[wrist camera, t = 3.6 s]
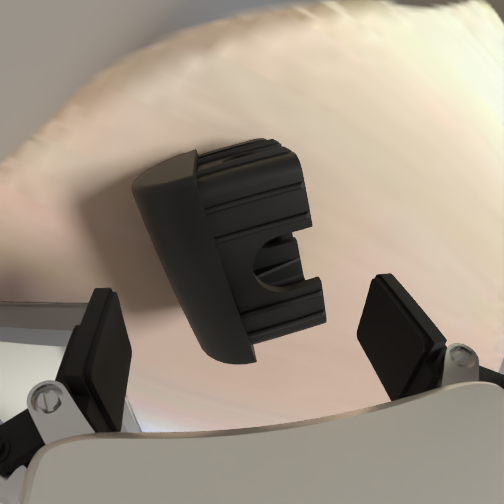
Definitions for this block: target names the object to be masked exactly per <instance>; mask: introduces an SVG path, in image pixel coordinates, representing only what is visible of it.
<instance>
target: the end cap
mask: <svg viewBox="0 0 504 504" xmlns="http://www.w3.org/2000/svg"><path fill="white" fill-rule="evenodd" d="M132 192H133V195H134V197H135V200H136V203H137V205H138V208H139V210H140V213H141V215H142V218H143V220H144V223H145V225H146V228H147V230H148V232H149V235H150V237H151V240H152V242H153V244H154V247H155V249H156V252H157V254H158V256H159V258H160V261H161V263H162V265H163V268H164V270H165V272H166V274H167V277H168V279H169V281H170V283H171V285H172V288H173V290H174V292H175V294H176V296H177V298H178V301H179V303H180V305H181V307H182V309H183V311H184V313H185V315H186V317H187V319H188V322H189V324H190V326H191V328H192V330H193V332H194V334H195V336H196V338H197V340H198V342H199V344H200V346H201V348H202V349H203V350H204V352H205V353H206V354H207V355H208V356H210V357H212V358H213V359H215V360H217V361H220V362H223V363H228V364H249V363H254V362H257V360H256V356H255V351H254V347H253V344H257V343H260V342H264V341H267V340H271V339H274V338H278V337H281V336H284V335H288V334H291V333H294V332H298V331H301V330H304V329H307V328H310V327H314V326H317V325H320V324H323V323H326V312H325V305H324V297H323V290H322V283H321V280H320V278H319V277H315V278H312V279H308V280H305V278H304V275H303V270H302V265H301V260H300V255H299V250H298V244H297V240H296V238H295V237H293V235H292V232H295V231H298V230H302V229H305V228H309V227H312V220H311V215H310V209H309V204H308V198H307V193H306V187H305V182H304V177H303V172H302V168H301V164H300V161H299V159H298V157H297V155H296V154H295V153H294V152H292V151H291V150H289V149H287V148H286V147H282V146H281V144H280V143H279V142H277V141H276V140H274V139H270V140H266V139H264V138H258V139H254V140H250V141H247V142H243V143H239V144H235V145H232V146H228V147H225V148H221V149H218V150H214V151H211V152H207V153H204V154H201V155H198V154H197V151H196V150H193V151H190V152H187V153H184V154H181V155H179V156H176V157H174V158H171V159H169V160H166V161H164V162H162V163H160V164H158V165H156V166H154V167H152V168H150V169H149V170H147V171H146V172H144V173H143V174H141V175H140V176H139V177H138V178H137V179H136V180H135V181H134V183H133V185H132Z"/></svg>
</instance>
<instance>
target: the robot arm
mask: <svg viewBox="0 0 504 504" xmlns="http://www.w3.org/2000/svg"><path fill="white" fill-rule="evenodd" d="M357 338H358V341H359V342H360V344H361V346H362V348H363V350H364V351H365V353H366V355H367V357H368V359H369V360H370V362H371V364H372V366H373V368H374V370H375V371H376V373H377V375H378V377H379V379H380V381H381V383H382V384H383V386H384V388H385V390H386V392H387V394H388V396H389V398H390V399H391V402H388V403H384V404H380V405H376V406H372V407H368V408H364V409H359V410H355V411H351V412H346V413H341V414H336V415H332V416H326V417H321V418H316V419H310V420H304V421H298V422H291V423H285V424H277V425H270V426H261V427H252V428H242V429H231V430H217V431H198V432H120V431H121V428H122V420H123V411H124V404H125V396H126V389H127V382H128V376H129V369H130V363H131V357H132V350H131V345H130V341H129V338H128V334H127V330H126V327H125V323H124V319H123V315H122V311H121V307H120V303H119V299H118V295H117V292H112V289H111V288H95V289H94V291H93V294H92V296H91V299H90V301H89V303H88V306H87V308H86V311H85V313H84V316H83V318H82V321H81V324H80V325H76V326H75V327H74V329H73V331H72V334H71V336H70V339H69V342H68V344H67V347H66V350H65V352H64V355H63V358H62V361H61V364H60V366H59V369H58V372H57V375H56V378H55V381H53V380H47V381H43V382H40V383H38V384H37V385H35V386H34V387H33V388H32V389H31V390H30V392H29V394H28V396H27V407H28V408H27V409H25V410H24V411H22V412H21V413H19V414H17V415H16V416H14V417H12V418H11V419H9V420H8V421H6V422H4V423H3V424H1V425H0V504H504V375H503V374H500V373H498V372H495V371H492V370H490V369H487V368H484V367H482V366H479V359H478V356H477V354H476V353H475V352H474V351H473V349H471V348H470V347H468V346H466V345H464V344H460V343H454V344H451V345H449V346H448V347H446V345H445V343H446V341H447V340H446V338H445V337H444V336H443V334H442V333H441V332H440V331H439V329H438V328H437V327H436V326H435V324H434V323H433V322H432V321H431V319H430V318H429V317H428V316H427V315H426V313H425V312H424V311H423V310H422V309H421V307H420V306H419V305H418V304H417V303H416V301H415V300H414V299H413V298H412V297H411V295H410V294H409V293H408V292H407V291H406V290H405V288H404V287H403V286H402V285H401V284H400V283H399V282H398V280H397V279H396V278H395V277H394V276H393V275H392V274H390V273H389V274H378V275H376V277H375V278H374V279H372V281H371V284H370V288H369V292H368V295H367V299H366V302H365V306H364V309H363V313H362V316H361V319H360V323H359V326H358V329H357Z"/></svg>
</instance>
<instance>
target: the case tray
mask: <svg viewBox="0 0 504 504" xmlns="http://www.w3.org/2000/svg"><path fill="white" fill-rule="evenodd" d="M87 306H88V303H31V302H0V425H1V424H3V423H4V422H6V421H8V420H9V419H11V418H12V417H14V416H16V415H17V414H19V413H21V412H22V411H24V410H25V409H27V408H28V407H27V396H28V394H29V392H30V390H31V389H32V388H33V387H34V386H35V385H37V384H38V383H40V382H43V381H47V380H53V381H55V378H56V375H57V372H58V369H59V366H60V364H61V361H62V358H63V355H64V352H65V350H66V347H67V344H68V342H69V339H70V336H71V334H72V331H73V329H74V327H75V326H76V325H80V324H81V321H82V318H83V316H84V313H85V311H86V308H87ZM120 432H142V431H141V429H140V427H139V424H138V422H137V420H136V418H135V415H134V413H133V411H132V408H131V406H130V403H129V401H128V399H127V396H125V404H124V411H123V420H122V428H121V431H120Z"/></svg>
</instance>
